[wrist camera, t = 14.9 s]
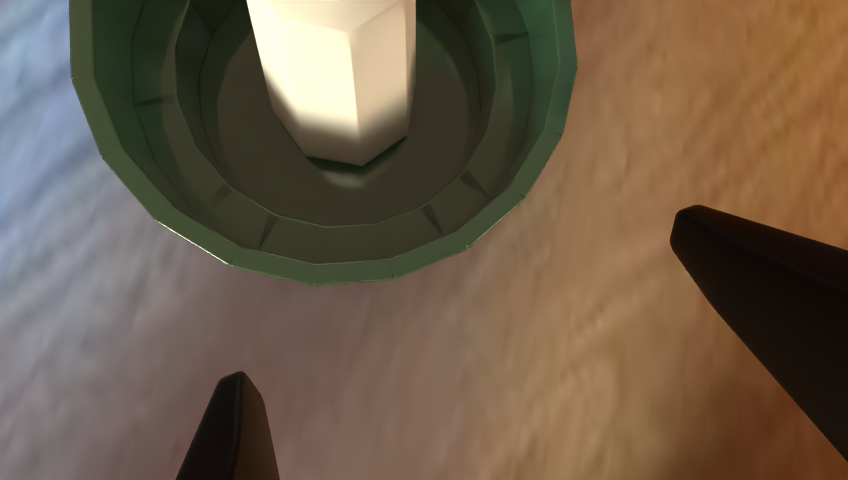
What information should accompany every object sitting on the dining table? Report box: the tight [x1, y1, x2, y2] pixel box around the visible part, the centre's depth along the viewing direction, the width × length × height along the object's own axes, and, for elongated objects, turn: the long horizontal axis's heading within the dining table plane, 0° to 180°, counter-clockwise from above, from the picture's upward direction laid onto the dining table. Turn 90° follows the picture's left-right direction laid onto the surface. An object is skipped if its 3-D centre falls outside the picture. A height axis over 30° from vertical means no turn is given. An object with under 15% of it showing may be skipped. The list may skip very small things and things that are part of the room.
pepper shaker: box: [246, 0, 416, 166], centre depth 13 cm, size 5×5×11 cm
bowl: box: [69, 0, 577, 286], centre depth 17 cm, size 14×14×5 cm
